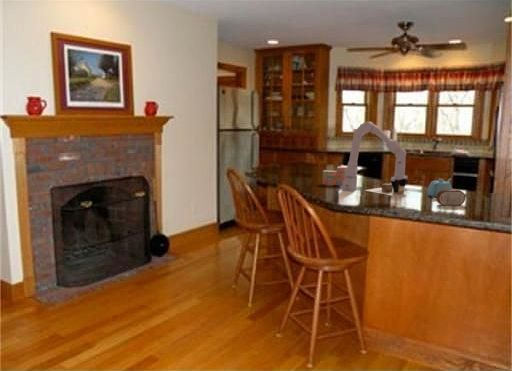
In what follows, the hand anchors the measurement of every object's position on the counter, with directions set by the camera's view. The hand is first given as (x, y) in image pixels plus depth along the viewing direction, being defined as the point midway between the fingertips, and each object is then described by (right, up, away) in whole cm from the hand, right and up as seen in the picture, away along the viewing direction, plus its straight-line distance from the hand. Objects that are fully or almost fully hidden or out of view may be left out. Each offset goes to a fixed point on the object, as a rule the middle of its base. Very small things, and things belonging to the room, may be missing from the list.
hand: (398, 191), depth 263 cm
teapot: (+23, -3, -5) cm, 24 cm away
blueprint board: (-5, -1, +6) cm, 8 cm away
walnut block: (-5, 0, +6) cm, 8 cm away
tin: (+19, -7, -28) cm, 34 cm away
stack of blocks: (-30, +4, +31) cm, 43 cm away
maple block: (0, -1, 0) cm, 1 cm away
